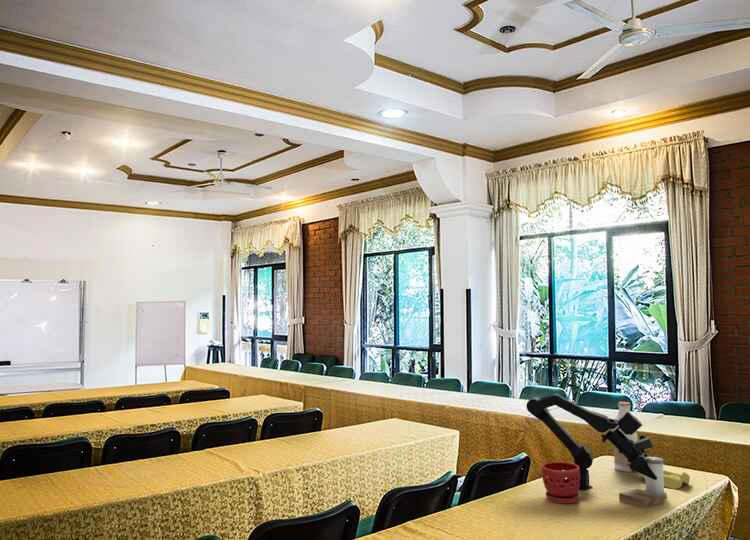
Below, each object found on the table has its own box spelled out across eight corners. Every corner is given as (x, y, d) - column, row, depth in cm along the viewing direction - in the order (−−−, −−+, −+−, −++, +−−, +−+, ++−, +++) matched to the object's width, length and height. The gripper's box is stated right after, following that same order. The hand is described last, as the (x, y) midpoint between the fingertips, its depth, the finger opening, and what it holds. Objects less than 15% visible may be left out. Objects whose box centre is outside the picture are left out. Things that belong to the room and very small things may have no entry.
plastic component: (691, 478, 227) (683, 471, 221) (688, 497, 225) (679, 490, 219) (640, 464, 242) (631, 457, 236) (636, 482, 240) (627, 475, 234)
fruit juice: (615, 465, 255) (613, 400, 257) (639, 468, 250) (636, 401, 253) (613, 470, 246) (611, 403, 248) (638, 473, 242) (635, 404, 244)
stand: (644, 508, 199) (644, 500, 199) (619, 500, 208) (619, 493, 208) (662, 503, 204) (662, 496, 204) (637, 495, 213) (637, 488, 213)
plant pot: (564, 492, 217) (563, 459, 218) (589, 503, 204) (588, 468, 205) (534, 496, 212) (534, 462, 213) (557, 507, 200) (557, 471, 201)
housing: (658, 499, 208) (656, 462, 209) (639, 494, 214) (637, 458, 215) (671, 496, 212) (669, 459, 213) (652, 491, 218) (650, 455, 219)
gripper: (638, 433, 208) (674, 468, 203) (638, 424, 225) (671, 456, 220) (615, 454, 211) (650, 489, 206) (616, 443, 228) (649, 475, 223)
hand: (656, 476), depth 213 cm, fingers closed on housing, 6 cm apart
